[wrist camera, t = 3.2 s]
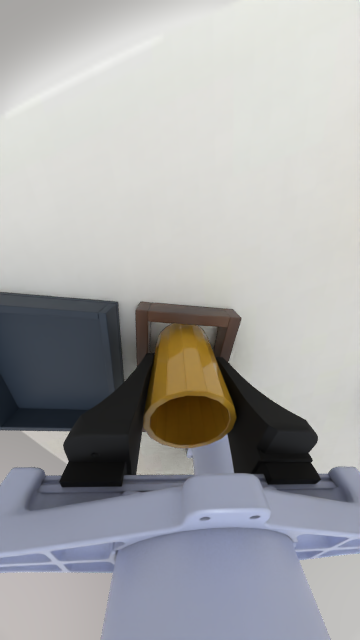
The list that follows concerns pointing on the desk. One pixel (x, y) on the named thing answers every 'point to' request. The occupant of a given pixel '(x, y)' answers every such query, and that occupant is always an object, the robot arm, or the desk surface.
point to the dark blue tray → (56, 359)
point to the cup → (186, 391)
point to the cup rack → (186, 315)
